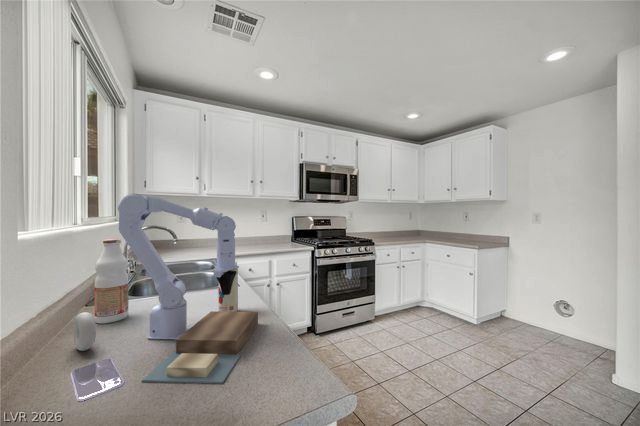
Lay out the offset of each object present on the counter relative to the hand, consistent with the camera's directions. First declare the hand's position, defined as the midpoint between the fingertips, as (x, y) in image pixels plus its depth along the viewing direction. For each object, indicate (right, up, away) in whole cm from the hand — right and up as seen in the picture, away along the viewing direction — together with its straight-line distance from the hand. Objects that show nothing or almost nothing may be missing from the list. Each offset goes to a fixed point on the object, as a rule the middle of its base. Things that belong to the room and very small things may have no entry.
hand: (226, 294), depth 86 cm
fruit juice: (-43, -11, +7) cm, 45 cm away
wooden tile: (+1, -8, -25) cm, 26 cm away
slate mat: (+1, -10, -23) cm, 25 cm away
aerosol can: (-4, -11, +12) cm, 16 cm away
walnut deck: (+2, -10, -8) cm, 13 cm away
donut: (-34, -11, -15) cm, 38 cm away
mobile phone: (-19, -11, -27) cm, 35 cm away
